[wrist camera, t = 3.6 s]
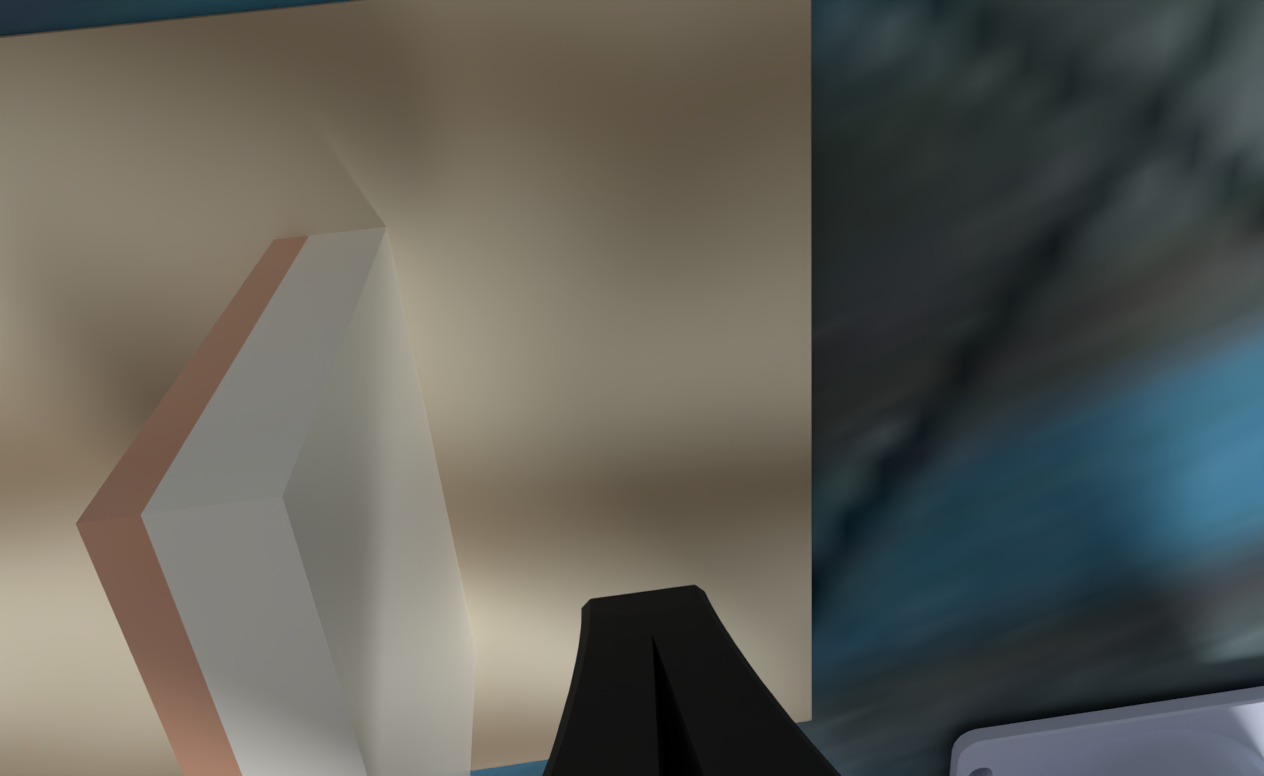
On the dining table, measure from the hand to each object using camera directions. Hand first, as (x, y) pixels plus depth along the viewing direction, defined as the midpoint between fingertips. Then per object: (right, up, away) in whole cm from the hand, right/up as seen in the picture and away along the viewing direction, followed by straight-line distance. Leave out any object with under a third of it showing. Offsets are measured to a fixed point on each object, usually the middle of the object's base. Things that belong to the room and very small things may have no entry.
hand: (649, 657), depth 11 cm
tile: (-4, +2, +4) cm, 6 cm away
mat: (-6, +2, +4) cm, 8 cm away
